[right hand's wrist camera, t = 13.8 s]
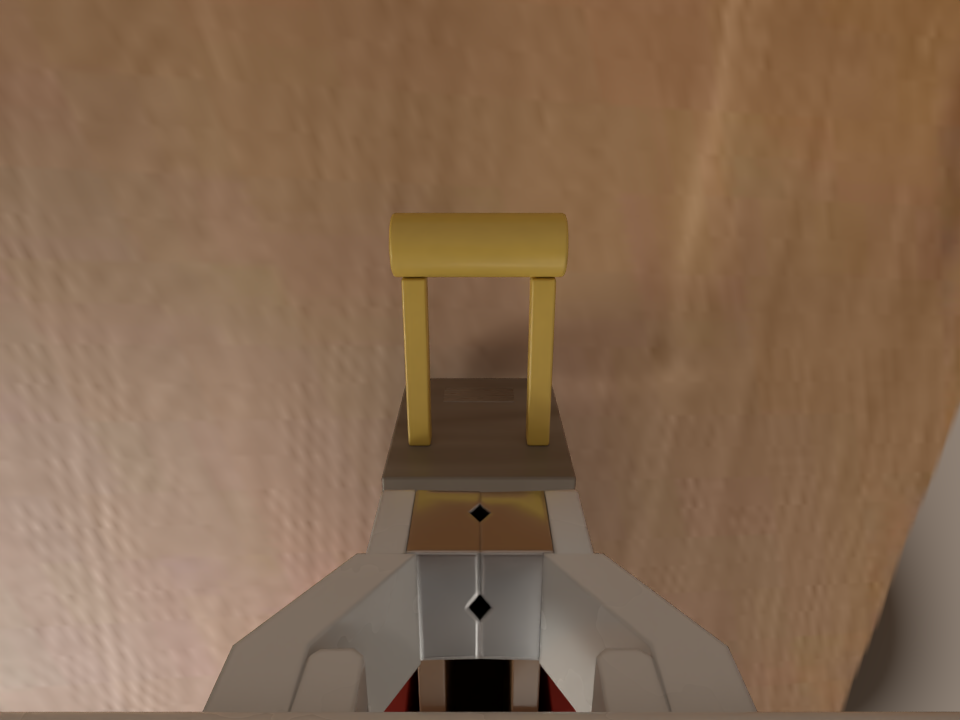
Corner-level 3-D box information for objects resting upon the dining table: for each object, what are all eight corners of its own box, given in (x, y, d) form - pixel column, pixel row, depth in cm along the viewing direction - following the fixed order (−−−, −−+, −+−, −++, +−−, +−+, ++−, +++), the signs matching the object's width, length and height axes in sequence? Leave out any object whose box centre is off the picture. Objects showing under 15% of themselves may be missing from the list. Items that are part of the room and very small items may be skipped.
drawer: (398, 189, 20) (365, 227, 14) (558, 189, 20) (591, 227, 14) (422, 741, 29) (407, 910, 23) (535, 742, 29) (550, 909, 23)
